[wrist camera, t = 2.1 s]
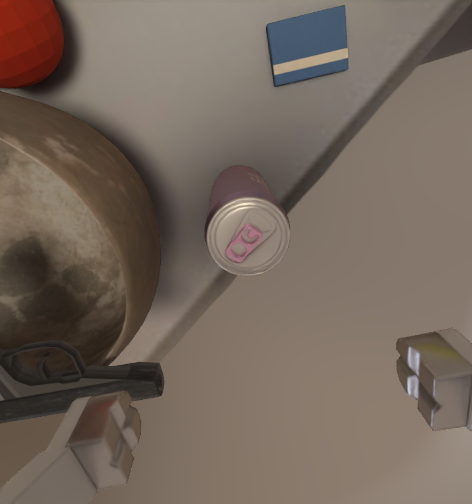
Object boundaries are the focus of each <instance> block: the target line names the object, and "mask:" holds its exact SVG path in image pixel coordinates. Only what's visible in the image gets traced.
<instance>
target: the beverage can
mask: <svg viewBox="0 0 472 504" xmlns="http://www.w3.org/2000/svg"><path fill="white" fill-rule="evenodd" d="M205 241H206V244H207V247H208V250H209V252H210V254H211V256H212V258H213V259H214V261H215V262H216V263H217V264H218V265H219V266H220V267H221V268H223V269H224V270H226V271H228V272H230V273H233V274H236V275H240V276H254V275H258V274H261V273H264V272H267V271H269V270H270V269H272V268H273V267H275V266H276V265H277V264H278V263H279V262H280V261H281V260H282V258H283V257H284V255H285V254H286V252H287V249H288V247H289V242H290V225H289V220H288V217H287V214H286V212H285V210H284V209H283V207H282V206H281V204H280V203H279V202H278V200H277V199H276V197H275V196H274V194H273V193H272V191H271V190H270V188H269V187H268V185H267V184H266V182H265V181H264V180H263V178H262V177H261V175H260V174H259V173H258V172H257V171H255V170H254V169H252V168H249V167H246V166H234V167H230V168H228V169H226V170H224V171H223V172H222V173H221V174H220V175H219V176H218V177H217V179H216V181H215V183H214V186H213V190H212V195H211V199H210V204H209V209H208V214H207V219H206V224H205Z"/></svg>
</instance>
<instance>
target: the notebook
mask: <svg viewBox="0 0 472 504" xmlns="http://www.w3.org/2000/svg"><path fill="white" fill-rule="evenodd" d="M266 30H267V38H268V45H269V52H270V59H271V66H272V73H273V80H274V86H275V87H276V86H280V85H285V84H289V83H293V82H297V81H302V80H306V79H310V78H315V77H319V76H323V75H327V74H332V73H336V72H340V71H344V70H347V69H348V48H347V35H346V17H345V5H343V6H338V7H334V8H330V9H326V10H322V11H318V12H314V13H310V14H306V15H302V16H298V17H294V18H289V19H285V20H281V21H277V22H273V23H269V24H267V26H266Z"/></svg>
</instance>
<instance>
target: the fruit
mask: <svg viewBox="0 0 472 504" xmlns="http://www.w3.org/2000/svg"><path fill="white" fill-rule="evenodd" d="M63 43H64V36H63V30H62V24H61V20H60V17H59V15H58V12H57V10H56V8H55V5H54V3H53V1H52V0H0V88H8V89H16V88H24V87H28V86H31V85H34V84H36V83H38V82H40V81H42V80H44V79H45V78H46V77H48V76H49V75H50V74H51V73H52V72H53V71H54V69H55V68H56V66H57V65H58V63H59V62H60V60H61V57H62V52H63Z"/></svg>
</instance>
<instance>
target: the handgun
mask: <svg viewBox="0 0 472 504" xmlns="http://www.w3.org/2000/svg"><path fill="white" fill-rule="evenodd" d="M47 347H48V348H56V349H60V350H62V351H64V352H65V353H66V354H68V355H69V356H71V358H72V360H73V362H74V364H75V366H76V368H77V369H73V370H60V371H52V372H51V371H50V369H49V367H48V365H47V357H48V356H49V355H50V353H51V352H52V350H51V351H47V352H46V353H45V355H44V356H43V357H42V358H41V360H40V361H39V363H38V364H37V372H36V371H32V370H30V369H28V368H27V367H25V366H23V365H22V363H21V362H20V361H19V360H18V359H17V358H18V353H21V352H26V351H32V350H37V349H42V348H47ZM163 388H164V377H163V372H162V369H161V366H160V363H149V362H136V363H130V364H124V365H118V366H88V367H87V368H86V367H85V364H84V362H83V360H82V358H81V355H80V353H79V351H78V350H77V349H75V348H74V347H73V346H71V345H70V344H68V343H66V342H64V341H58V340H48V341H42V342H36V343H30V344H26V345H24V346H22V347H20V348H17V349H12V350H9V349H7V350H2V349H1V348H0V423H5V422H11V421H17V420H23V419H29V418H35V417H41V416H47V415H53V414H58V413H65V412H67V411H68V410H69V408H70V406H71V404H72V402H73V401H75V400H76V399H77V398H82V397H89V396H93V395H99V394H105V393H111V392H117V391H123V390H124V391H128V392H129V394H130V396H131V398H132V400H131V401H137V400H143V399H148V398H155V397H159V396H161V395H162V393H163Z"/></svg>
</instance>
